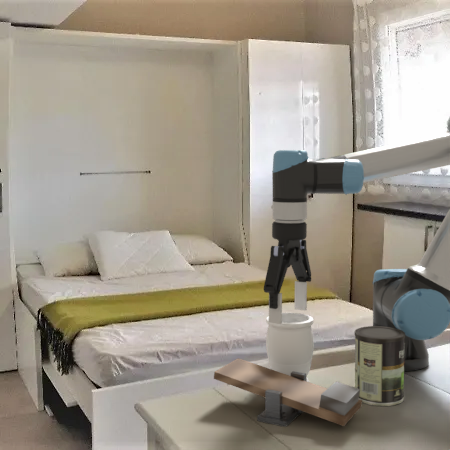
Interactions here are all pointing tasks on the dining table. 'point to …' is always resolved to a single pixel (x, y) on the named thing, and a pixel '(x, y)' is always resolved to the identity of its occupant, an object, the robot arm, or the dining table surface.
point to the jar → (290, 344)
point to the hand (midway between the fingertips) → (288, 316)
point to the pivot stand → (279, 407)
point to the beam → (294, 390)
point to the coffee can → (379, 365)
